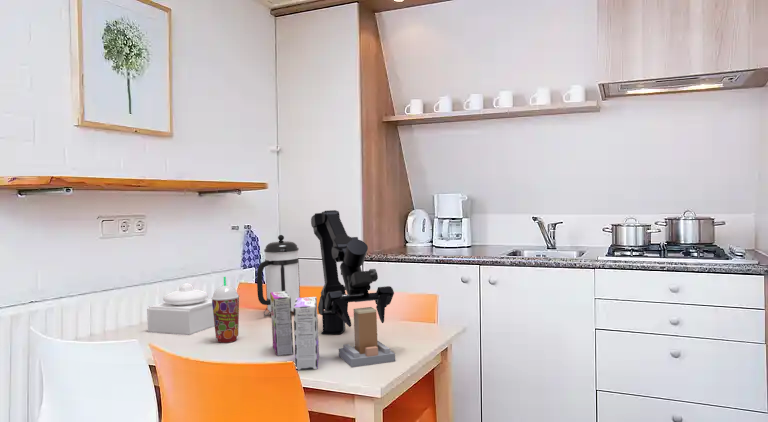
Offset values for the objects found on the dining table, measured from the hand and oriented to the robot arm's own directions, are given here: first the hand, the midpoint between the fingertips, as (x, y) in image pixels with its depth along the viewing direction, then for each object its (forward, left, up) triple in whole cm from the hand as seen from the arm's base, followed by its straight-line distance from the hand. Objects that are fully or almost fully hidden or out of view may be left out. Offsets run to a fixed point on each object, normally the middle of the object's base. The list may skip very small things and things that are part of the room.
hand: (366, 324), depth 158 cm
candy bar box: (-27, +8, -10) cm, 29 cm away
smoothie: (-49, +19, -10) cm, 53 cm away
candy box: (-16, -3, -10) cm, 19 cm away
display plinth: (-1, +1, -10) cm, 10 cm away
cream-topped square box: (-1, +1, -8) cm, 8 cm away
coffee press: (-45, +58, -10) cm, 74 cm away
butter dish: (-72, +36, -10) cm, 81 cm away
